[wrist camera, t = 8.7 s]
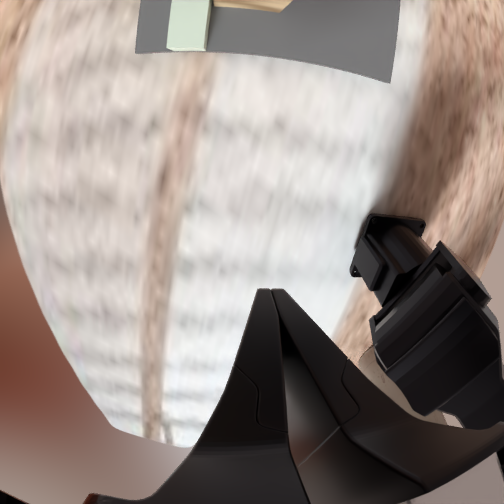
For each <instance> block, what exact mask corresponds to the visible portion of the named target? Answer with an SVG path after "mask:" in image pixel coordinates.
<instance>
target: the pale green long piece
mask: <svg viewBox="0 0 504 504" xmlns="http://www.w3.org/2000/svg"><path fill="white" fill-rule="evenodd" d="M211 5H212V0H172V3H171V11H170V19H169V27H168V37H167V47H166V48H168V49H170V50H172V51H206V48H207V39H208V30H209V21H210V13H211Z"/></svg>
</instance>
